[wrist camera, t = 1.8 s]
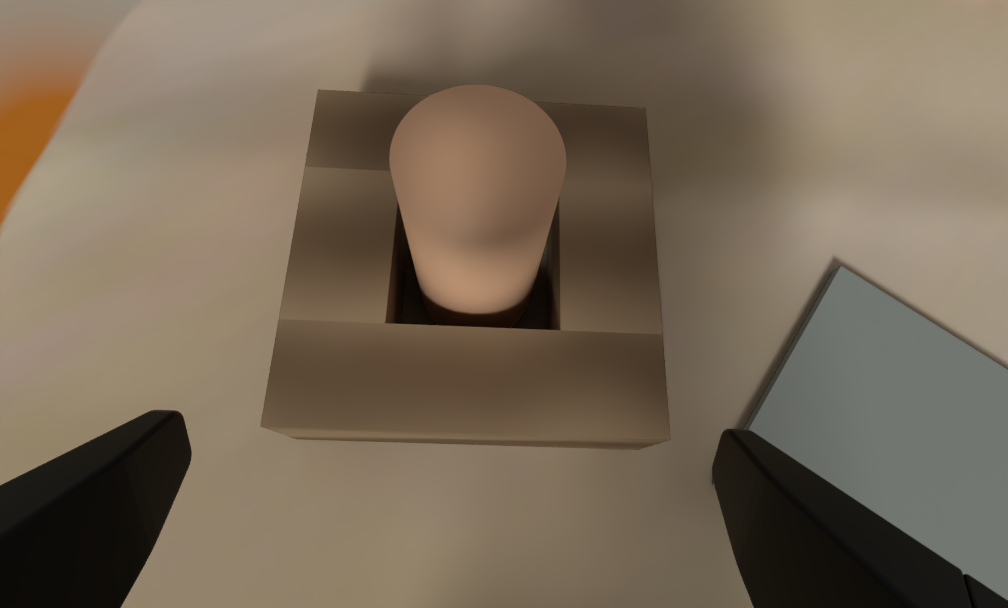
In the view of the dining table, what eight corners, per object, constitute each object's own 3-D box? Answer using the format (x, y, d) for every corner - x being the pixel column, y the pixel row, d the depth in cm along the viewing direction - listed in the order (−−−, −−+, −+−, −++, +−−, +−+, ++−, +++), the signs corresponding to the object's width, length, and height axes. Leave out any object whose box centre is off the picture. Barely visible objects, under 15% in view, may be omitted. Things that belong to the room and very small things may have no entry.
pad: (988, 684, 21) (1002, 690, 20) (711, 484, 23) (717, 484, 22) (1078, 425, 24) (1092, 422, 24) (833, 270, 26) (840, 265, 26)
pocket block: (638, 449, 23) (670, 439, 19) (296, 438, 22) (260, 426, 19) (622, 161, 28) (645, 107, 24) (339, 146, 27) (318, 89, 23)
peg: (552, 301, 25) (601, 180, 16) (458, 360, 24) (450, 268, 14) (492, 218, 26) (503, 59, 17) (400, 269, 25) (356, 131, 16)
